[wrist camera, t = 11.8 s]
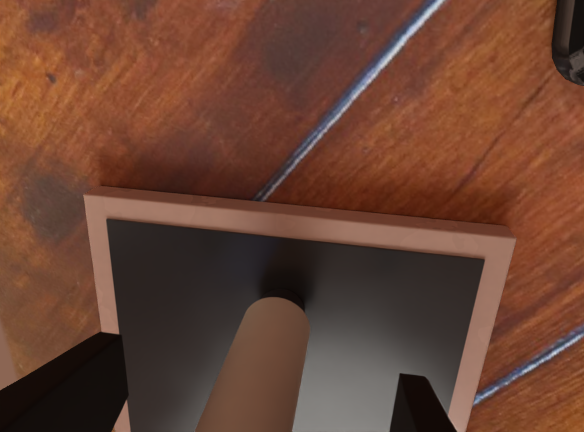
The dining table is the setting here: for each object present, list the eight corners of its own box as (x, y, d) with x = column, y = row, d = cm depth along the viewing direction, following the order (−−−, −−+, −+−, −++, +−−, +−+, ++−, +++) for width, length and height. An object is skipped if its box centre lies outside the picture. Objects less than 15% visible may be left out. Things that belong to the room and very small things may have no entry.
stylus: (250, 330, 16) (128, 646, 8) (251, 276, 15) (115, 565, 7) (311, 338, 16) (253, 675, 7) (315, 284, 15) (256, 593, 7)
